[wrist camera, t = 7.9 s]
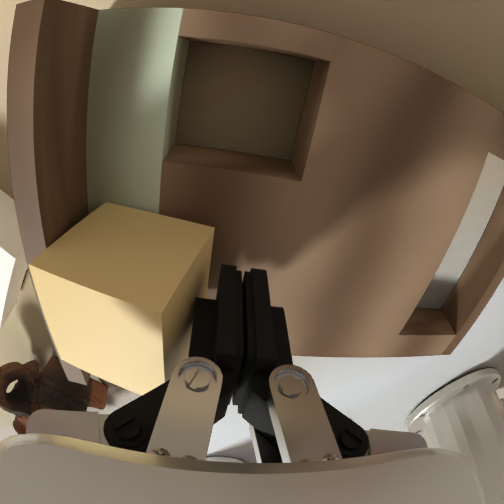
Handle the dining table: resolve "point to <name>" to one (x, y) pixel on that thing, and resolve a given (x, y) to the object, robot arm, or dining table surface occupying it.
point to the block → (124, 293)
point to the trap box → (262, 169)
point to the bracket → (10, 257)
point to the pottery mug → (45, 391)
